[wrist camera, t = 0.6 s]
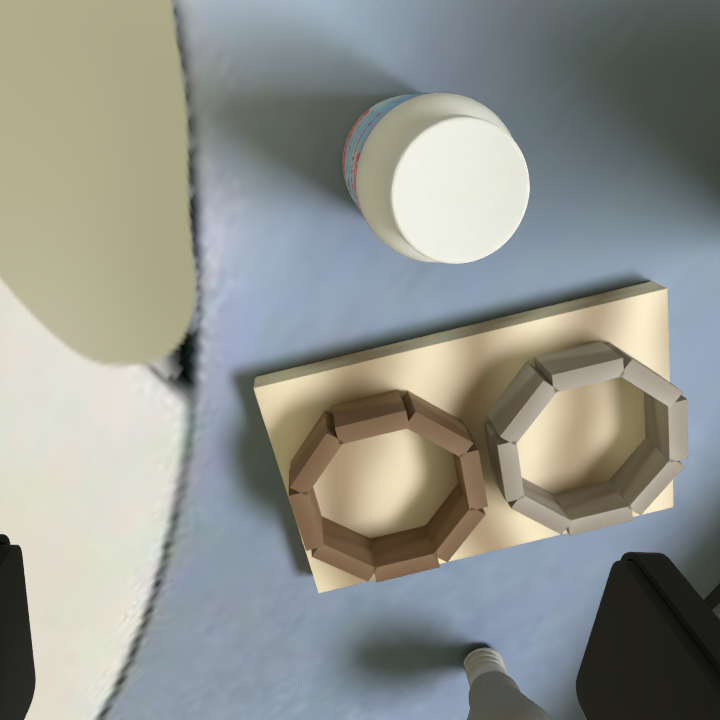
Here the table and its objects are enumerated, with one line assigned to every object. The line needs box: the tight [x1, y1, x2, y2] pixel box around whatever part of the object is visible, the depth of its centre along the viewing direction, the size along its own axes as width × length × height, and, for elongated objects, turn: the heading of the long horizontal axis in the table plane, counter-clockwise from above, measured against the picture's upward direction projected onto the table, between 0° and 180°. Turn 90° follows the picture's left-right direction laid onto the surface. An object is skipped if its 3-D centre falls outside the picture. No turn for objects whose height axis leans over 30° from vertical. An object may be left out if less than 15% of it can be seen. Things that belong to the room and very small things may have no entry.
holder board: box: [254, 281, 688, 593], centre depth 35 cm, size 22×14×4 cm, turn 103°
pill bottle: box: [343, 92, 530, 264], centre depth 25 cm, size 6×6×11 cm
